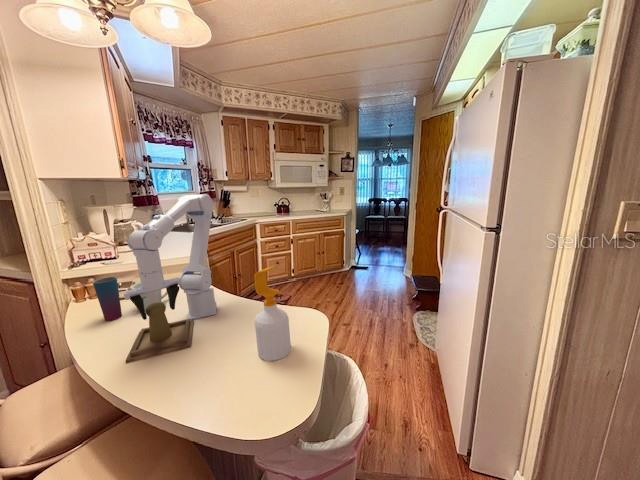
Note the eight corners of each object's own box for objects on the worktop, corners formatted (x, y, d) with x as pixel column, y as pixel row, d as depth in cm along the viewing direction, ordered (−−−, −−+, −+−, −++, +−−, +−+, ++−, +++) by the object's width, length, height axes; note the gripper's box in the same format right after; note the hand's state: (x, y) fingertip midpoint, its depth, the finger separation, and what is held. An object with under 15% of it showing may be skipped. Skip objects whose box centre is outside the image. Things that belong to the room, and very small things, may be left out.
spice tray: (193, 322, 92) (192, 316, 92) (190, 347, 78) (189, 340, 77) (140, 333, 86) (138, 328, 86) (126, 363, 72) (124, 356, 71)
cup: (112, 323, 94) (103, 283, 91) (97, 321, 96) (87, 282, 93) (129, 313, 101) (121, 276, 98) (114, 312, 102) (106, 276, 99)
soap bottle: (276, 365, 68) (267, 275, 63) (251, 355, 73) (241, 270, 67) (297, 347, 75) (291, 264, 70) (273, 338, 80) (265, 260, 75)
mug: (129, 310, 104) (124, 286, 102) (166, 295, 116) (162, 274, 114) (144, 315, 99) (139, 290, 97) (181, 299, 111) (177, 277, 109)
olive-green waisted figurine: (175, 330, 86) (169, 299, 83) (166, 341, 80) (159, 307, 77) (156, 332, 85) (150, 300, 83) (145, 343, 79) (138, 309, 77)
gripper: (172, 262, 85) (179, 301, 88) (117, 274, 75) (127, 318, 78) (180, 266, 80) (187, 307, 83) (123, 280, 70) (133, 326, 73)
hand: (159, 313), depth 80 cm, fingers open, 7 cm apart
